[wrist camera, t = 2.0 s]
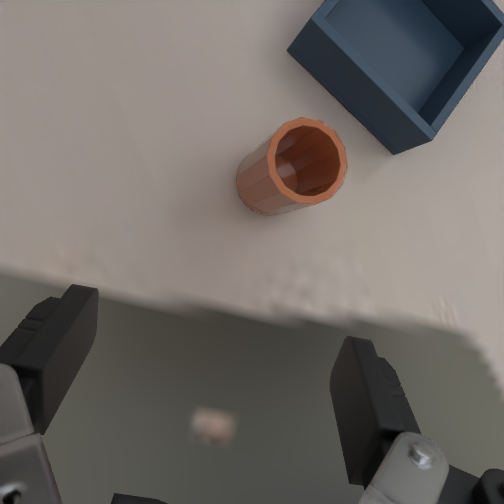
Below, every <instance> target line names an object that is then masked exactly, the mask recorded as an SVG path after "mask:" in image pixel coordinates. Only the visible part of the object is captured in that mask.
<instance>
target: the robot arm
mask: <svg viewBox="0 0 504 504" xmlns="http://www.w3.org/2000/svg"><path fill="white" fill-rule="evenodd" d="M98 295H99V293H98V289H97V288H91V287H86V286H81V285H75V284H72V285H71V286H70V287H69V288H68V290H67V291H66V292H65V293H64V295H63V296H62V298H61V299H60V298H54V297H49V298H47V299H46V300H44V301H42V302H40V303H39V304H37V305H35V306H34V307H33V309H32V310H31V311H30V312H29V313H28V315H27V316H26V318H25V319H23V320H22V322H21V323H20V324H19V325H18V328H16V329H15V330H14V331H13V333H12V334H11V335H10V336H9V337H8V339H7V340H6V341H5V342H4V343H3V344H2V346H1V347H0V504H63V503H62V500H61V497H60V494H59V491H58V488H57V484H56V481H55V478H54V475H53V472H52V469H51V465H50V462H49V459H48V456H47V453H46V450H45V447H44V444H43V440H42V438H41V435H44V433H45V431H46V429H47V428H48V426H49V424H50V422H51V420H52V419H53V417H54V415H55V413H56V411H57V409H58V408H59V406H60V404H61V402H62V400H63V398H64V397H65V395H66V393H67V391H68V389H69V387H70V386H71V384H72V382H73V380H74V378H75V376H76V375H77V373H78V371H79V369H80V367H81V365H82V364H83V362H84V360H85V358H86V356H87V354H88V353H89V351H90V349H91V347H92V344H93V342H94V338H95V335H96V329H97V312H98ZM330 392H331V397H332V402H333V407H334V412H335V417H336V421H337V426H338V431H339V436H340V441H341V446H342V451H343V456H344V460H345V465H346V470H347V475H348V480H349V484H356V485H362V486H364V490H365V492H364V494H363V496H362V497H361V499H360V501H359V502H358V504H504V471H503V470H500V469H489V470H487V471H485V472H484V474H483V475H482V476H481V478H478V477H476V476H473V475H471V474H469V473H467V472H464V471H462V470H459V469H457V468H455V467H453V466H451V465H449V464H448V461H447V458H446V456H445V455H444V453H443V452H442V450H441V449H440V448H439V447H438V446H437V445H436V444H435V443H434V442H432V441H431V440H430V439H428V438H427V437H425V436H423V435H421V432H420V429H419V427H418V424H417V422H416V420H415V417H414V415H413V412H412V410H411V408H410V406H409V403H408V401H407V398H406V397H405V393H404V391H403V388H402V387H401V386H400V381H399V379H398V376H397V374H396V371H395V370H394V369H393V368H392V366H391V365H390V364H389V363H388V362H387V361H386V360H385V358H380V357H378V356H377V354H376V351H375V348H374V346H373V343H372V341H371V340H368V339H363V338H357V337H352V336H347V337H346V338H345V339H344V342H343V344H342V347H341V349H340V352H339V354H338V357H337V359H336V361H335V364H334V366H333V369H332V372H331V376H330ZM111 504H167V503H165V502H162V501H160V500H157V499H152V498H144V497H138V496H130V495H124V494H117V493H114V496H113V499H112V502H111Z"/></svg>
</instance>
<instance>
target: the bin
mask: <svg viewBox="0 0 504 504" xmlns="http://www.w3.org/2000/svg"><path fill="white" fill-rule="evenodd" d="M503 39H504V14H503V12H502V11H501V10H500V9H499V8H498V7H497V5H496V4H495V3H494V2H493V1H492V0H325V1H324V2H323V4H322V5H321V6H320V7H319V8H318V10H317V11H316V12H315V13H314V14H313V16H312V17H311V18H310V19H309V21H308V22H307V23H306V25H305V26H304V27H303V29H302V30H301V32H300V33H299V34H298V36H297V37H296V38H295V40H294V41H293V42H292V44H291V45H290V46H289V48H288V49H287V51H288V52H289V53H290V54H291V55H292V56H293V57H294V58H295V59H296V60H297V61H298V62H299V63H300V64H301V65H302V66H303V67H304V68H305V69H306V70H307V71H308V72H309V73H310V74H311V75H312V76H313V77H314V78H315V79H317V80H318V81H319V82H320V83H321V84H322V85H323V86H324V87H325V88H326V89H327V90H328V91H329V92H330V93H331V94H332V95H333V96H334V97H335V98H336V99H337V100H338V101H339V102H340V103H341V104H342V105H343V106H344V107H345V108H346V109H347V110H348V111H349V112H350V113H351V114H352V115H354V116H355V117H356V118H357V119H358V120H359V121H360V122H361V123H362V124H363V125H364V126H365V127H366V128H367V129H368V130H369V131H370V132H371V133H372V134H373V135H374V136H375V137H376V138H377V139H378V140H379V141H380V142H381V143H382V144H383V145H384V146H385V147H386V148H387V149H388V150H390V151H391V152H392V153H393V154H394V155H395V154H398V153H401V152H403V151H406V150H409V149H411V148H414V147H416V146H419V145H422V144H424V143H427V142H430V141H432V140H433V138H434V137H435V135H436V134H437V132H438V131H439V130H440V128H441V127H442V125H443V124H444V123H445V121H446V120H447V118H448V117H449V115H450V114H451V113H452V111H453V110H454V108H455V107H456V105H457V104H458V103H459V101H460V100H461V98H462V97H463V96H464V94H465V93H466V91H467V90H468V88H469V87H470V86H471V84H472V83H473V81H474V80H475V78H476V77H477V76H478V74H479V73H480V71H481V70H482V69H483V67H484V66H485V64H486V63H487V61H488V60H489V59H490V57H491V56H492V54H493V53H494V51H495V50H496V49H497V47H498V46H499V44H500V43H501V42H502V40H503Z"/></svg>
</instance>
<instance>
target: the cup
mask: <svg viewBox="0 0 504 504" xmlns="http://www.w3.org/2000/svg"><path fill="white" fill-rule="evenodd" d="M346 170H347V159H346V152H345V148H344V145H343V144H342V142H341V140H340V139H339V137H338V135H337V134H336V132H335V131H334V130H333V129H331V128H330V127H328V126H327V125H326V124H324V123H323V122H321V121H319V120H315V119H309V118H303V117H302V118H298V119H295V120H292V121H289V122H286V123H284V124H283V125H282V126H281V127H279V128H278V129H277V130H276V131H275V132H274V133H273V134H271V135H270V136H269V137H268V138H267V139H266V140H265V141H263V142H262V143H261V144H260V145H259V146H258V147H257V148H255V149H254V150H253V151H252V152H251V153H250V154H249V155H248V156H247V157H246V158H245V159H244V160H243V162H242V163H241V165H240V167H239V169H238V172H237V179H236V183H237V189H238V193H239V195H240V197H241V199H242V200H243V202H244V203H245V204H246V205H247V206H248V207H249V208H250V209H251V210H253V211H255V212H257V213H259V214H263V215H278V214H281V213H285V212H289V211H292V210H296V209H300V208H304V207H307V206H311V205H315V204H317V203H320V202H322V201H325V200H327V199H330V198H331V197H332V196H333V195H334V194H335V193H336V191H337V190H338V189H339V188H340V187H341V186H342V184H343V181H344V177H345V174H346Z"/></svg>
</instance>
